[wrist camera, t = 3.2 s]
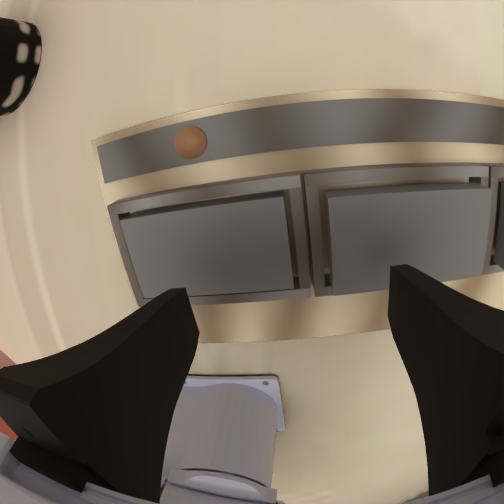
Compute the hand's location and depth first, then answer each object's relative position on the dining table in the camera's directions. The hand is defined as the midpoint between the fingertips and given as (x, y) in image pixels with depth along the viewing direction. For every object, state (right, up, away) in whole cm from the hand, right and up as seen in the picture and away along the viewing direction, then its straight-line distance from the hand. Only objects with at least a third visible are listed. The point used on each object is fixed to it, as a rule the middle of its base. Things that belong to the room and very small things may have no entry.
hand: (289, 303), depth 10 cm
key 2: (-4, +2, +7) cm, 8 cm away
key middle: (+7, +3, +4) cm, 9 cm away
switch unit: (+7, +4, +7) cm, 11 cm away
